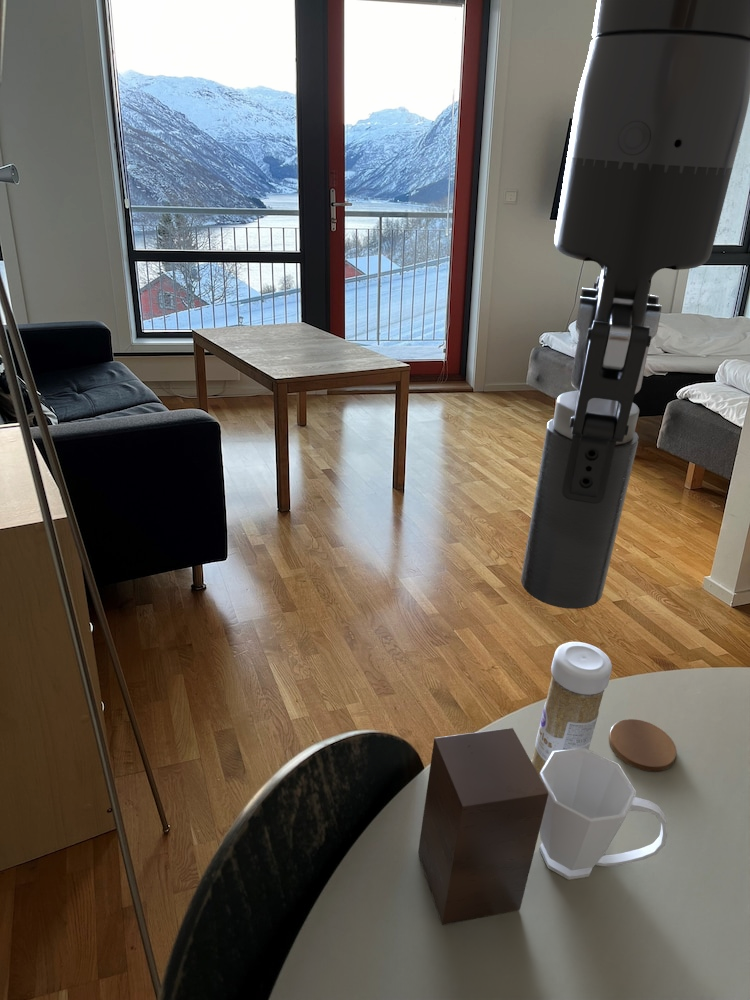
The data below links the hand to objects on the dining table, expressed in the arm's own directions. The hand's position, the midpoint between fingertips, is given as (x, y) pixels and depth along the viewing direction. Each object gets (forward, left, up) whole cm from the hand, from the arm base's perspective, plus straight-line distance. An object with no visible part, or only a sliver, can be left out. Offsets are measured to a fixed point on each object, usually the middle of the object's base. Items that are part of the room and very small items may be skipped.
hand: (583, 476), depth 43 cm
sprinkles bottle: (-8, -7, -33) cm, 34 cm away
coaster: (-18, -9, -33) cm, 38 cm away
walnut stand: (+3, +1, -33) cm, 33 cm away
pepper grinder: (0, 0, -7) cm, 7 cm away
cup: (-7, +1, -33) cm, 34 cm away
